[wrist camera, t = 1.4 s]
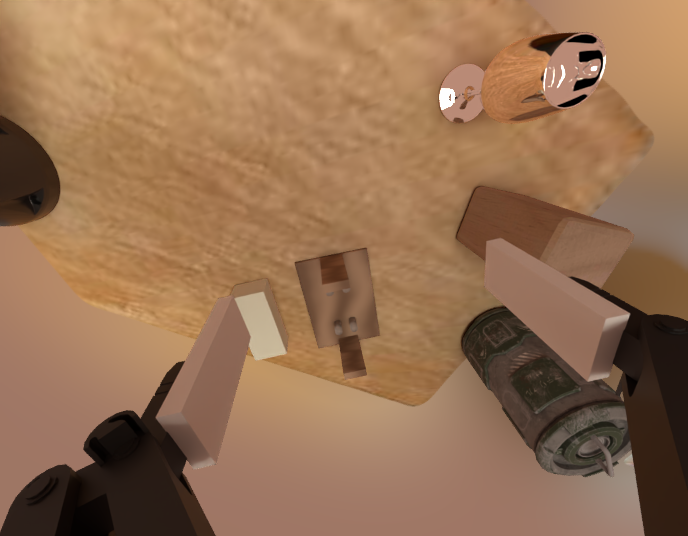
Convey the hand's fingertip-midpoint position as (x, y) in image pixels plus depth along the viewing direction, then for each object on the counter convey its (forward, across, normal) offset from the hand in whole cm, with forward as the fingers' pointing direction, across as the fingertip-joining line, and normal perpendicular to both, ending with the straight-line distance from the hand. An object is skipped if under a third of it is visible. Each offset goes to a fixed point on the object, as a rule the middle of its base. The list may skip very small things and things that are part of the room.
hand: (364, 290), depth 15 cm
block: (+35, +27, -12) cm, 46 cm away
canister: (+35, +30, -40) cm, 61 cm away
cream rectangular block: (+35, -17, -22) cm, 44 cm away
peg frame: (+34, -2, -23) cm, 41 cm away
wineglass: (+35, +22, +8) cm, 42 cm away
